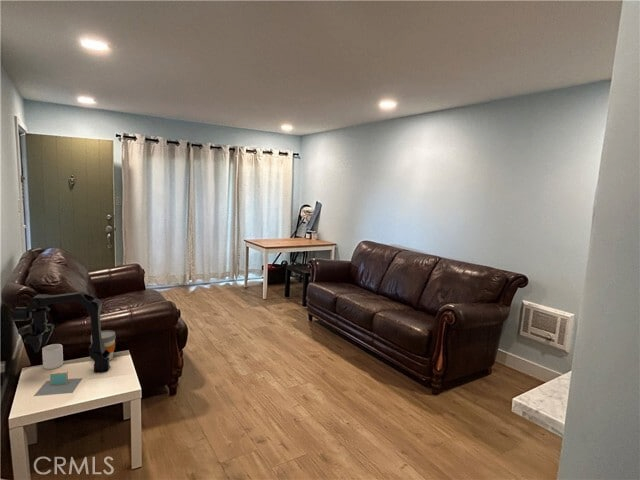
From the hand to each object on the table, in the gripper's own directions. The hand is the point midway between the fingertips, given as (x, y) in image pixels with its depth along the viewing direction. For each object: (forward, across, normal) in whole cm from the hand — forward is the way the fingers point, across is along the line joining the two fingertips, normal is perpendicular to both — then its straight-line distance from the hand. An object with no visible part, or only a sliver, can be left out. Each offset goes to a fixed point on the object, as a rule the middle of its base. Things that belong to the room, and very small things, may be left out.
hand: (40, 348), depth 189 cm
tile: (+14, +12, +12) cm, 22 cm away
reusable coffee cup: (+15, -14, +25) cm, 32 cm away
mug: (+15, -10, +1) cm, 18 cm away
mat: (+15, +15, +13) cm, 25 cm away
